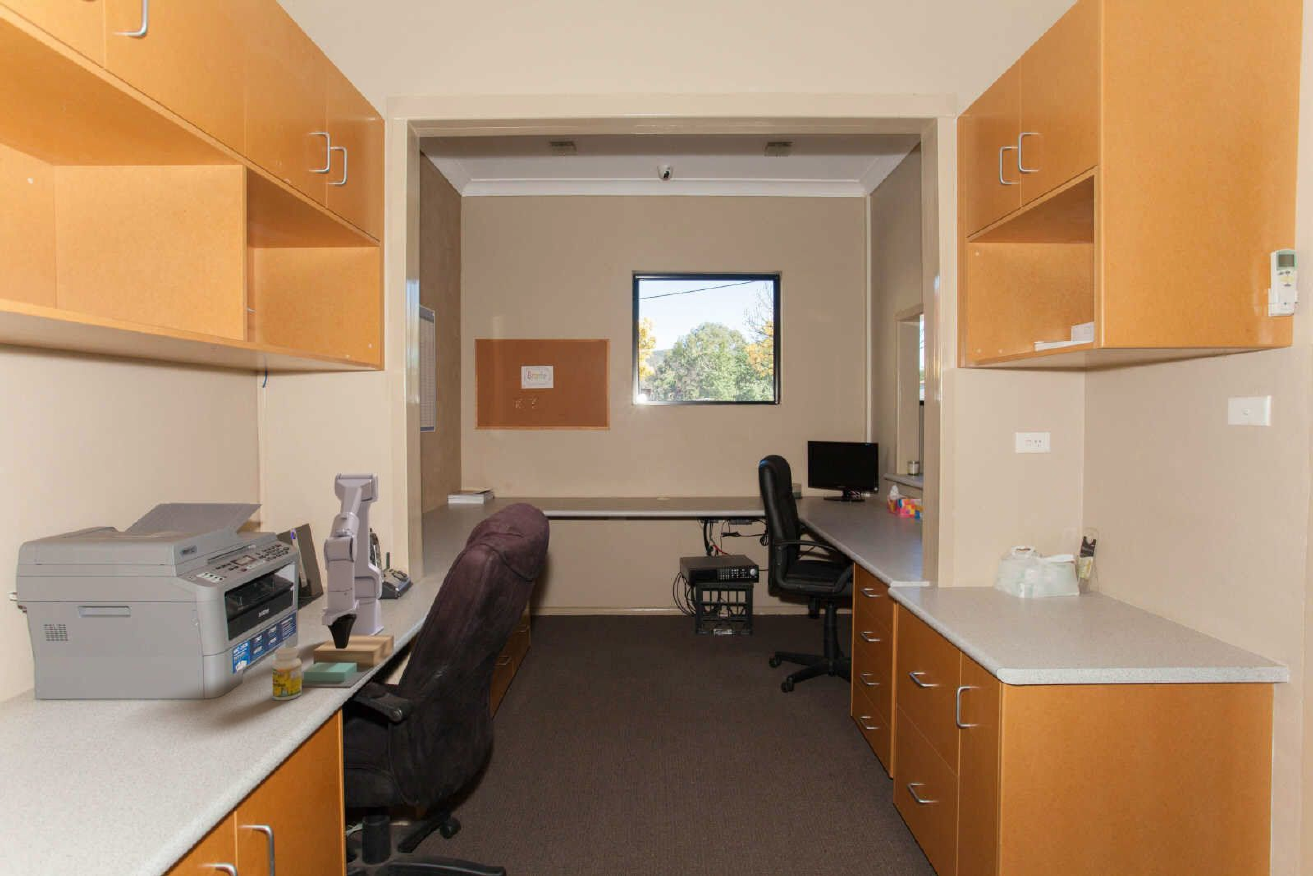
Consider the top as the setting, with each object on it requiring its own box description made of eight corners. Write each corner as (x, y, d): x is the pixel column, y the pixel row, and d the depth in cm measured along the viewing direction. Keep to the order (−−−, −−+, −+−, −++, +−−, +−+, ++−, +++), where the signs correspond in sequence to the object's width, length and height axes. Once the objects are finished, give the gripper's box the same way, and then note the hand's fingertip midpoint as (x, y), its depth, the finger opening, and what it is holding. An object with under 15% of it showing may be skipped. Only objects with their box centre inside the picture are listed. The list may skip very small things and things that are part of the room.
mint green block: (303, 671, 158) (303, 681, 158) (344, 672, 158) (344, 681, 158) (317, 662, 164) (317, 671, 164) (356, 663, 164) (356, 671, 164)
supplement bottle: (307, 693, 152) (307, 648, 152) (285, 702, 147) (285, 655, 147) (289, 689, 154) (288, 645, 154) (266, 698, 149) (266, 652, 149)
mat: (313, 667, 168) (313, 666, 168) (373, 668, 167) (373, 667, 167) (285, 687, 156) (285, 685, 156) (350, 687, 155) (350, 686, 155)
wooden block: (337, 651, 180) (337, 635, 180) (393, 651, 179) (393, 635, 179) (313, 667, 168) (313, 650, 168) (373, 668, 167) (373, 651, 167)
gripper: (338, 581, 173) (338, 638, 174) (307, 596, 159) (308, 658, 159) (367, 581, 173) (367, 638, 174) (339, 596, 159) (340, 658, 159)
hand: (341, 647), depth 166 cm, fingers closed
